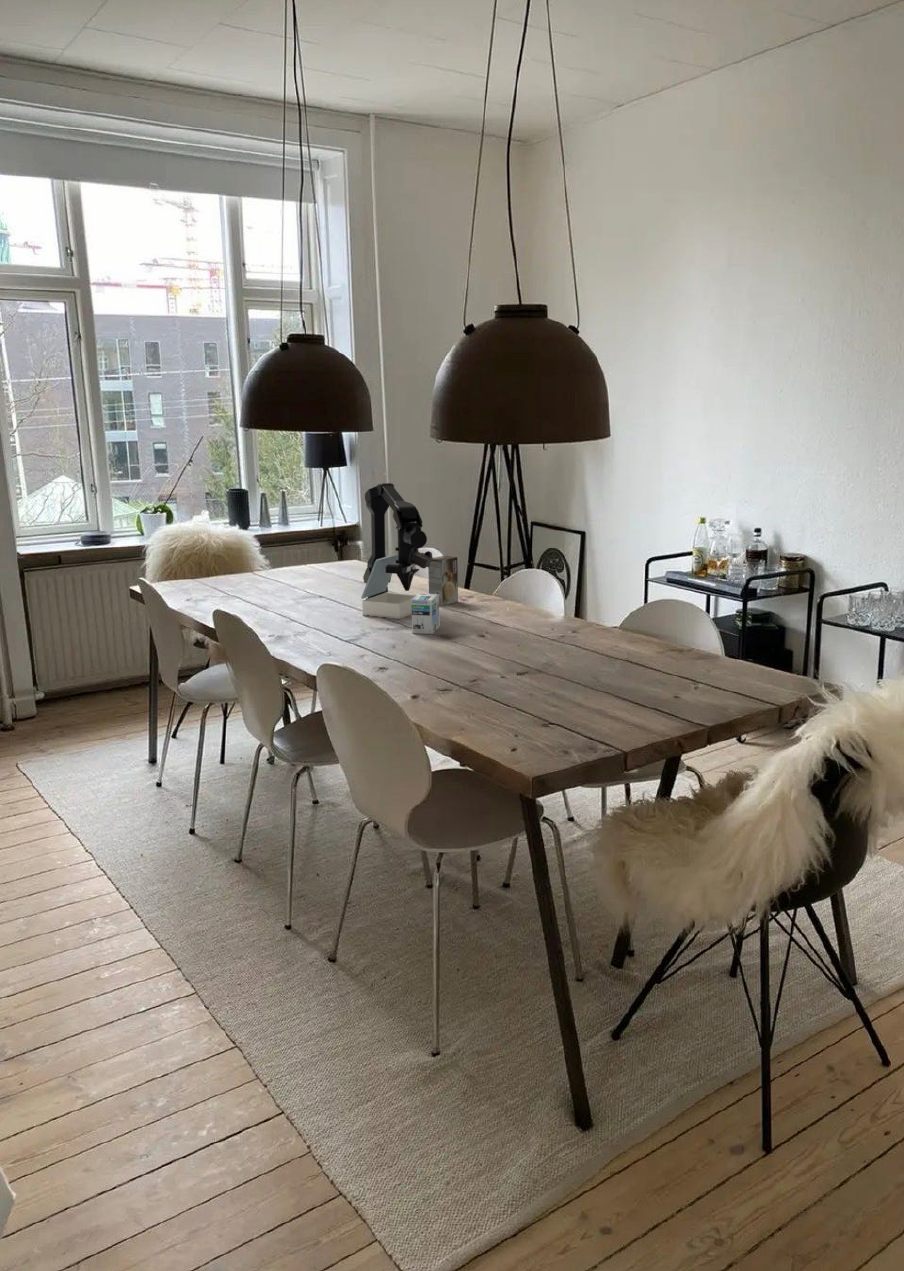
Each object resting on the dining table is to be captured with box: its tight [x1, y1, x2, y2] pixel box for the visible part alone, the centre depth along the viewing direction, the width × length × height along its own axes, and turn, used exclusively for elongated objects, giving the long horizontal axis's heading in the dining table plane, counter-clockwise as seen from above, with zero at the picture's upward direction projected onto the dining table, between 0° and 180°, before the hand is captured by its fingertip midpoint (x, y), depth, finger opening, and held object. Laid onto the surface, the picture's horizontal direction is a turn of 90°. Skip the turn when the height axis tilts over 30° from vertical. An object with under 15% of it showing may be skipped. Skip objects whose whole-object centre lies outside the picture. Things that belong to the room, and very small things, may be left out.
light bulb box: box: [411, 592, 440, 635], centre depth 305 cm, size 11×7×11 cm, turn 168°
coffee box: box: [427, 555, 459, 607], centre depth 345 cm, size 9×6×16 cm
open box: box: [361, 591, 418, 620], centre depth 331 cm, size 14×16×5 cm
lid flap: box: [360, 553, 398, 600], centre depth 330 cm, size 15×15×1 cm
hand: (407, 590), depth 327 cm, fingers closed
